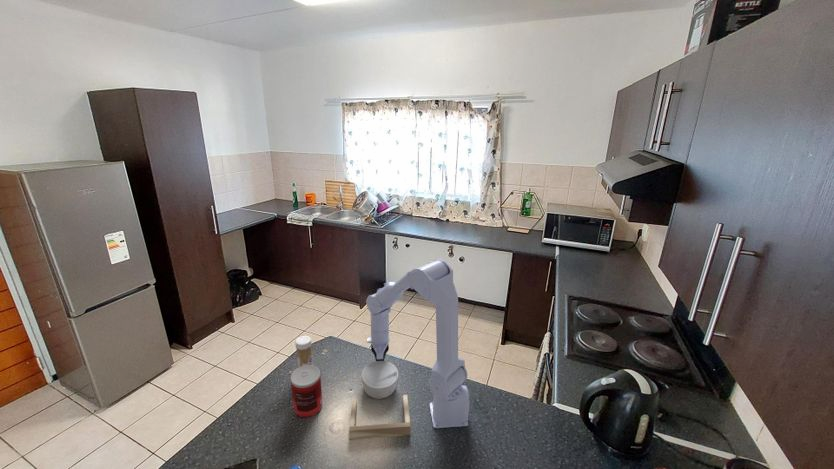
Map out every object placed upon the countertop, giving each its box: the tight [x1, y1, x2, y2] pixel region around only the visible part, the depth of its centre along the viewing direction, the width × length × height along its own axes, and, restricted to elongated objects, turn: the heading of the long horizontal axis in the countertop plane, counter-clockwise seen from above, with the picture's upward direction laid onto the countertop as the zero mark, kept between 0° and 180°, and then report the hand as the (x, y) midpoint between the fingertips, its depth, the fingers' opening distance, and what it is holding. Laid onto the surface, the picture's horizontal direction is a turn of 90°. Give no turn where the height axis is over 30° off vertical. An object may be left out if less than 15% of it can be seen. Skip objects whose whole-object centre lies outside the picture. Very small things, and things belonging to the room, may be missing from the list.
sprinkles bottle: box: [294, 335, 314, 368], centre depth 99 cm, size 5×5×13 cm
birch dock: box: [348, 394, 411, 441], centre depth 86 cm, size 10×15×3 cm, turn 96°
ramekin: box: [360, 360, 400, 400], centre depth 97 cm, size 11×11×5 cm
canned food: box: [290, 364, 323, 418], centre depth 88 cm, size 8×8×11 cm
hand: (380, 362), depth 106 cm, fingers closed
